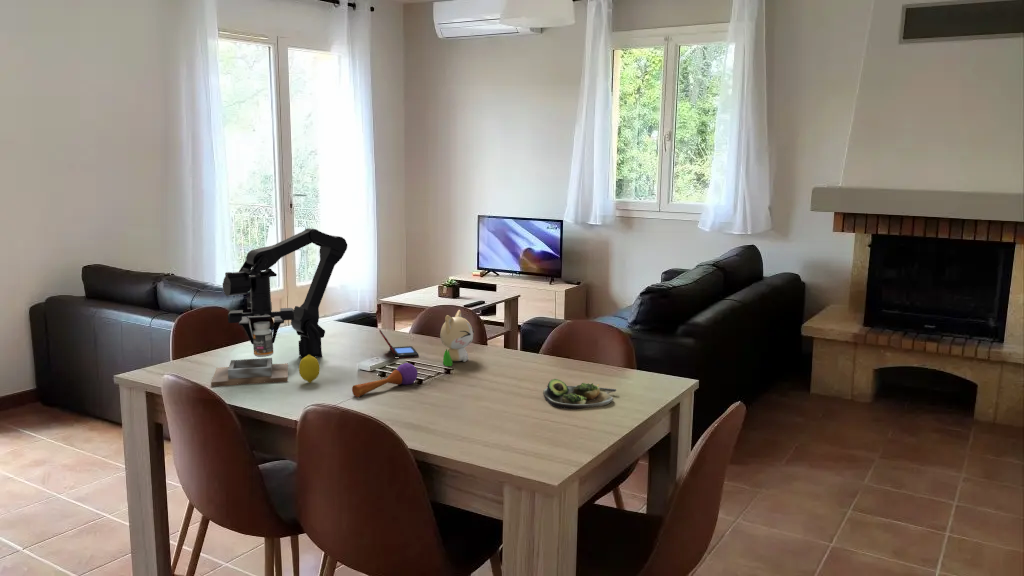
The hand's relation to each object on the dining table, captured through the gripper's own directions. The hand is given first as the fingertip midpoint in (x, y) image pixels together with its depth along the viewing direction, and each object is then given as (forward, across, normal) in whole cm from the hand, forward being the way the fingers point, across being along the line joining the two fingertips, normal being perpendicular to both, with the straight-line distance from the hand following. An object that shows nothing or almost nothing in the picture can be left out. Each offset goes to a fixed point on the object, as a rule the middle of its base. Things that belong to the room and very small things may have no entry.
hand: (263, 343), depth 243 cm
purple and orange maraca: (+7, -33, +36) cm, 49 cm away
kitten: (+7, -57, +11) cm, 58 cm away
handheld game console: (+7, -41, -2) cm, 42 cm away
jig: (+6, +3, +14) cm, 16 cm away
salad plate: (+7, -79, +58) cm, 98 cm away
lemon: (+6, -13, +25) cm, 29 cm away
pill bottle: (+4, 0, 0) cm, 4 cm away
